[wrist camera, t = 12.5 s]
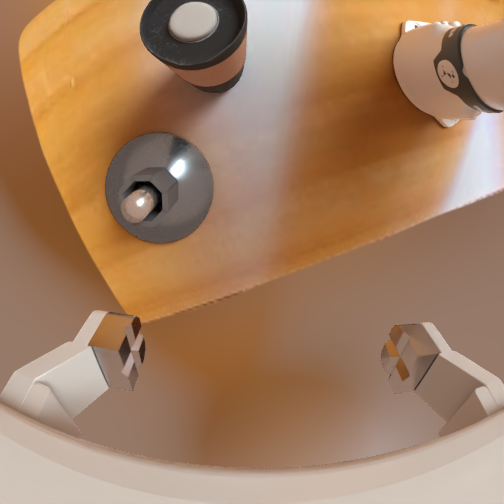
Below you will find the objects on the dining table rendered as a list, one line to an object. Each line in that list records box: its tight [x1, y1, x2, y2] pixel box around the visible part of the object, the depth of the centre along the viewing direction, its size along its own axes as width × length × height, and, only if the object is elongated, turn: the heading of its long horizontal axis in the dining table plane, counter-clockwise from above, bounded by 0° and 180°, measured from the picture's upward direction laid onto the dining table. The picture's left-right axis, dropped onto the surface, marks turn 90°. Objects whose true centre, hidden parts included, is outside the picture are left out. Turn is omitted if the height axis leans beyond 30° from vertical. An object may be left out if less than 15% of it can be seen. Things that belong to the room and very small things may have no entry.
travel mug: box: [140, 0, 247, 93], centre depth 22 cm, size 8×8×20 cm
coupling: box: [118, 167, 178, 227], centre depth 34 cm, size 6×6×6 cm
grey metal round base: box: [106, 133, 213, 243], centre depth 34 cm, size 16×16×10 cm
